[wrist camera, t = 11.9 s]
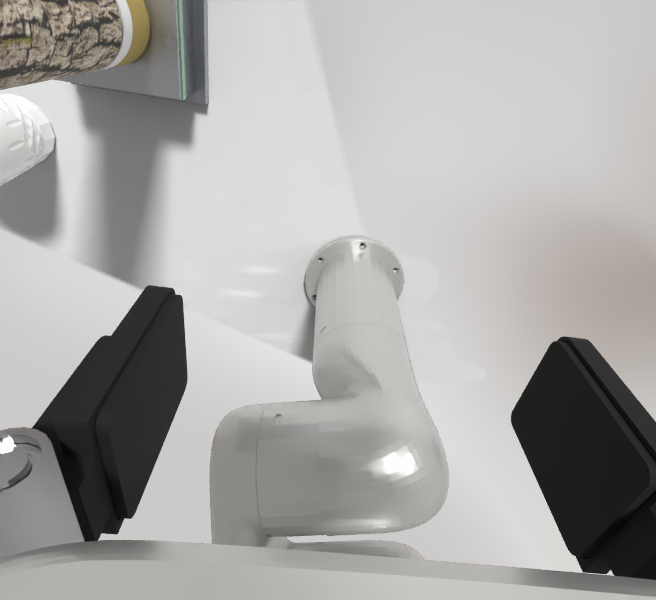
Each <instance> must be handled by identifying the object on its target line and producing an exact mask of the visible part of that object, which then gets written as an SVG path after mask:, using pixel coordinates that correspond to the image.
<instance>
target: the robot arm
mask: <svg viewBox="0 0 656 600" xmlns="http://www.w3.org/2000/svg"><path fill="white" fill-rule="evenodd" d="M360 243H364V244H360ZM319 258H322V259H319ZM394 268H396V269H394ZM403 284H404V278H403V271H402V267H401V265H400V262H399V260H398V258H397V257H396V255H395V254H394V253H393V252H392V251H391V250H390V249H389V248H388V247H387V246H385V245H384V244H382V243H381V242H379V241H376V240H373V239H371V238H366V237H345V238H340V239H338V240H335V241H332V242H330V243H329V244H327V245H325V246H324V247H322V248H321V249H320V250H319V251H318V252H317V253H316V254H315V255H314V257H313V258H312V259H311V261H310V263H309V265H308V268H307V272H306V279H305V285H306V292H307V295H308V298H309V299H310V301H311V303H312V304H313V306H314V307H315V308H316V314H315V331H314V348H313V364H312V372H313V378H314V383H315V386H316V388H317V390H318V392H319V395H320V396H321V398H322V400H314V401H300V402H284V403H270V404H258V405H250V406H245V407H241V408H238V409H235V410H234V411H232V412H230V413H229V414H228V415H226V416H225V417H224V419H223V420H222V421H221V422H220V424H219V426H218V428H217V430H216V433H215V436H214V439H213V444H212V449H211V458H210V459H211V460H210V508H211V528H212V544H203V543H186V542H169V541H145V540H144V541H143V540H137V541H136V540H134V541H133V540H104V541H103V540H102V541H98V539H99V537H100V535H101V533H106V534H118V532H119V529H120V527H121V525H122V522H123V520H124V518H129V519H131V518H132V517H133V516H134V514H135V512H136V510H137V507H138V504H139V502H140V500H141V497H142V495H143V492H144V490H145V487H146V485H147V483H148V480H149V478H150V475H151V473H152V470H153V468H154V465H155V463H156V460H157V458H158V455H159V453H160V451H161V448H162V446H163V443H164V441H165V438H166V436H167V433H168V431H169V428H170V426H171V423H172V421H173V419H174V416H175V414H176V411H177V409H178V406H179V404H180V401H181V399H182V396H183V394H184V391H185V388H186V385H187V361H186V346H185V329H184V313H183V299H182V296H181V295H175V291H174V289H173V288H167V287H158V286H150V285H149V286H147V287H146V288H145V289H144V291H143V292H142V294H141V295H140V296H139V298H138V299H137V301H136V302H135V304H134V305H133V306H132V308H131V309H130V310H129V312H128V313H127V315H126V316H125V317H124V319H123V320H122V322H121V323H120V324H119V326H118V327H117V329H116V330H115V331H114V333H113V334H112V335H111V336H103V337H101V338H100V339H99V340H98V341H97V342H96V343H95V345H94V346H93V347H92V349H91V350H90V351H89V353H88V354H87V355H86V357H85V358H84V359H83V361H82V362H81V363H80V365H79V366H78V367H77V369H76V370H75V371H74V373H73V374H72V375H71V377H70V378H69V379H68V381H67V382H66V384H65V385H64V386H63V387H62V389H61V390H60V391H59V393H58V394H57V395H56V397H55V398H54V399H53V401H52V402H51V403H50V405H49V406H48V407H47V409H46V410H45V411H44V413H43V414H42V416H41V417H40V418H39V419H38V421H37V422H36V424H35V425H34V426H33V427H32V428H26V427H21V428H9V429H5V430H2V431H0V600H656V422H655V421H654V419H653V418H652V417H651V416H650V414H649V413H648V412H647V411H646V409H645V408H644V407H643V406H642V405H641V403H640V402H639V401H638V400H637V399H636V397H635V396H634V395H633V394H632V392H631V391H630V390H629V389H628V387H627V386H626V385H625V384H624V382H623V381H622V380H621V379H620V378H619V377H618V375H617V374H616V373H615V372H614V370H613V369H612V368H611V367H610V365H609V364H608V363H607V362H606V361H605V359H604V358H603V357H602V356H601V354H600V353H599V352H598V351H597V349H596V348H595V347H594V346H593V344H592V343H591V342H590V341H588V340H586V339H579V338H572V337H561V338H560V339H558V340H557V341H555V342H553V343H552V344H551V345H550V346H549V348H548V350H547V352H546V353H545V355H544V357H543V358H542V360H541V362H540V364H539V365H538V367H537V369H536V371H535V372H534V374H533V376H532V378H531V380H530V381H529V383H528V385H527V386H526V388H525V390H524V392H523V393H522V395H521V397H520V399H519V400H518V402H517V404H516V406H515V408H514V410H513V411H512V414H511V423H512V426H513V428H514V430H515V433H516V435H517V437H518V439H519V441H520V444H521V446H522V448H523V450H524V452H525V455H526V457H527V459H528V462H529V464H530V466H531V468H532V470H533V473H534V475H535V477H536V479H537V482H538V484H539V486H540V488H541V490H542V493H543V495H544V497H545V500H546V502H547V504H548V506H549V508H550V511H551V513H552V515H553V517H554V520H555V522H556V524H557V526H558V528H559V531H560V533H561V535H562V537H563V540H564V542H565V544H566V546H567V548H568V550H569V551H570V553H571V554H572V555H574V556H576V558H577V560H578V562H579V565H580V567H581V569H582V571H583V572H587V573H598V574H607V573H608V572H609V571H610V570H612V572H613V574H614V576H609V575H597V574H586V573H574V572H562V571H550V570H539V569H528V568H516V567H505V566H504V567H503V566H492V565H479V564H467V563H456V562H444V561H431V560H425V559H424V558H423V556H422V555H421V554H420V553H419V552H418V551H417V550H415V549H414V548H412V547H410V546H408V545H406V544H402V543H397V542H391V541H374V540H372V541H371V540H368V541H367V540H365V541H337V542H317V543H293V542H290V541H289V540H288V539H287V538H286V536H307V535H308V536H310V535H327V536H334V535H355V534H376V533H389V532H397V531H402V530H406V529H410V528H414V527H416V526H419V525H421V524H424V523H426V522H427V521H429V520H430V519H431V518H432V517H434V516H435V515H436V514H437V513H438V512H439V510H440V509H441V508H442V505H443V504H444V502H445V500H446V497H447V492H448V486H449V470H448V463H447V459H446V455H445V451H444V447H443V444H442V441H441V438H440V436H439V433H438V431H437V429H436V426H435V425H434V422H433V421H432V418H431V416H430V414H429V412H428V410H427V408H426V406H425V404H424V402H423V399H422V397H421V394H420V392H419V389H418V386H417V383H416V380H415V376H414V372H413V368H412V365H411V360H410V356H409V352H408V347H407V343H406V339H405V334H404V330H403V326H402V321H401V317H400V313H399V309H398V304H397V300H398V299H399V297H400V295H401V292H402V289H403Z"/></svg>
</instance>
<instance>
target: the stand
mask: <svg viewBox="0 0 656 600" xmlns="http://www.w3.org/2000/svg"><path fill="white" fill-rule="evenodd" d="M143 1H144V3H145V6H146V9H147V12H148V16H149V23H150V34H149V40H148V43H147V46H146V48H145V50H144V52H143V53H142V54H141V56H140V57H138V58H137V59H136V60H135V61H133V62H131V63H129V64H126V65H121V66H116V67H111V68H108V69H103V70H98V71H93V72H88V73H83V74H78V75H73V76H67V77H62V78H57V79H54V80H60V81H66V82H71V84H77V85H83V86H90V87H96V88H102V89H109V90H115V91H121V92H128V93H134V94H140V95H147V96H153V97H159V98H165V99H172V100H178V101H184V102H191V103H197V104H203V105H206V104H208V103H209V97H208V21H207V0H143Z"/></svg>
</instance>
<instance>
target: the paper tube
mask: <svg viewBox="0 0 656 600" xmlns="http://www.w3.org/2000/svg"><path fill="white" fill-rule="evenodd" d="M149 34H150V23H149V16H148V12H147V9H146V6H145V3H144V1H143V0H0V90H2V89H7V88H12V87H17V86H22V85H27V84H32V83H37V82H42V81H47V80H52V79H57V78H62V77H67V76H73V75H78V74H83V73H88V72H93V71H98V70H103V69H108V68H111V67H116V66H121V65H126V64H129V63H131V62H133V61H135V60H136V59H137V58H138V57H140V56H141V54H142V53H143V52H144V50H145V48H146V46H147V43H148V40H149Z"/></svg>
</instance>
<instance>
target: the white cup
mask: <svg viewBox="0 0 656 600" xmlns="http://www.w3.org/2000/svg"><path fill="white" fill-rule="evenodd" d="M54 141H55V135H54V132H53V129H52V126H51V123H50V121H49V120H48V119H47V117H46V116H45V115H44V113H43V112H42V111H41V110H40V108H39V107H37V106H36V105H34V104H33V103H31V102H30V101H28V100H27V99H26V98H24V97H20V96H16V95H12V94H0V186H2V185H3V184H5V183H7V182H9V181H10V180H12V179H14V178H16V177H17V176H19V175H21V174H22V173H24V172H25V171H27V170H29V169H30V168H32V167H33V166H35V165H36V164H37V163H39V162H41V161H42V160H44V159H46V158H47V157H48V155H49V154H50V153H51V152H52V151H53V149H54Z"/></svg>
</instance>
